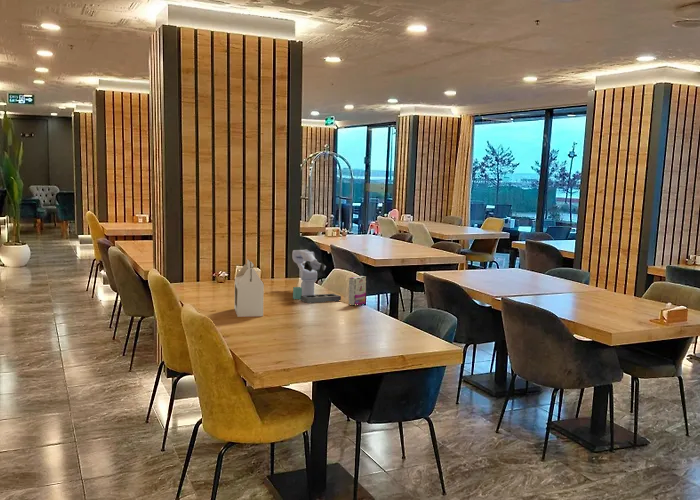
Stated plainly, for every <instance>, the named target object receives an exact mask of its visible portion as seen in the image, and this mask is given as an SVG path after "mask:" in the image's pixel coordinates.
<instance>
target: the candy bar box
mask: <svg viewBox="0 0 700 500" xmlns="http://www.w3.org/2000/svg"><path fill="white" fill-rule="evenodd" d="M366 300H367V276H364V275H359V276H353V277H352V276H351V277H349V278H348V305H349V304H351V305H355V304H356V305H357V304H358V306H361V305H366V303H367V301H366Z"/></svg>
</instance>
